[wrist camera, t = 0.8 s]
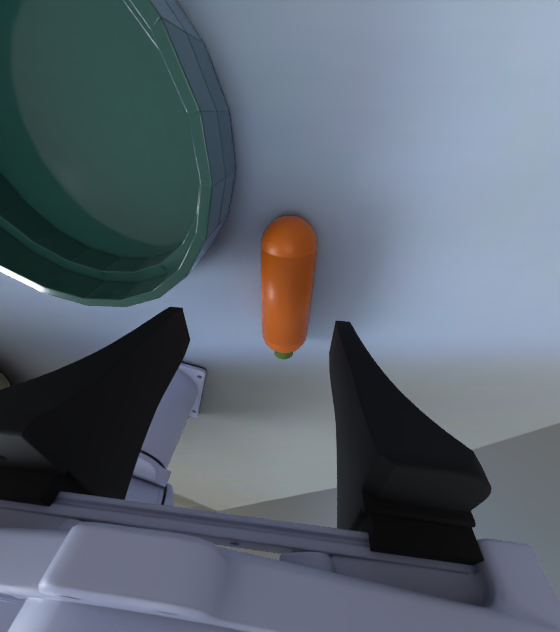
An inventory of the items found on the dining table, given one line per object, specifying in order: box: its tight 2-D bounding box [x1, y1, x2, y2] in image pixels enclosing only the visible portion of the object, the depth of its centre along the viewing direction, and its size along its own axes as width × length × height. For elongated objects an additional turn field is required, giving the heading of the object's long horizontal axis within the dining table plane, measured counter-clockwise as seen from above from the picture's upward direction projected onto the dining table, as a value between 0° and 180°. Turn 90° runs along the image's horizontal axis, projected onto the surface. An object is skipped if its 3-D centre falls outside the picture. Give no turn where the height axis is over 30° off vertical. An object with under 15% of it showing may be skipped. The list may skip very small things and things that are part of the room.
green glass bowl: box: [0, 0, 236, 307], centre depth 14 cm, size 17×17×5 cm
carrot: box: [261, 215, 317, 359], centre depth 19 cm, size 12×4×4 cm, turn 178°
